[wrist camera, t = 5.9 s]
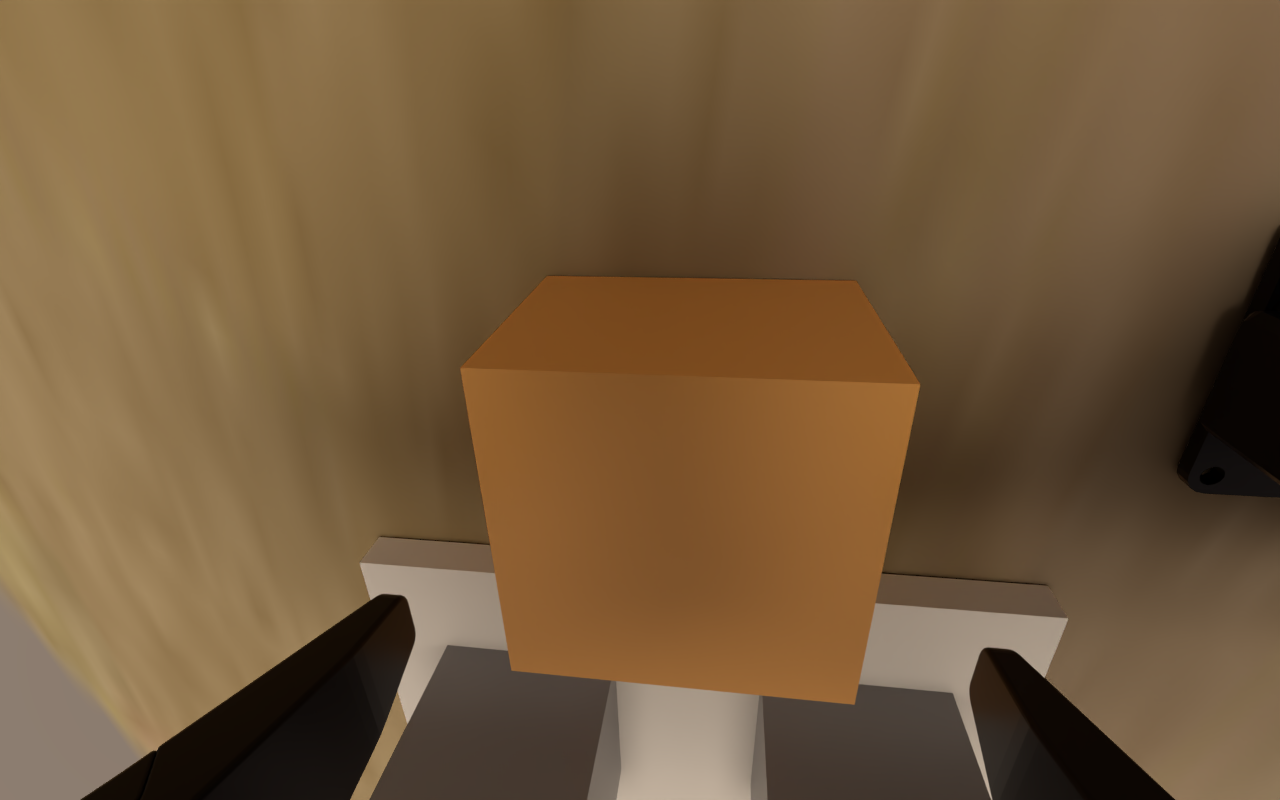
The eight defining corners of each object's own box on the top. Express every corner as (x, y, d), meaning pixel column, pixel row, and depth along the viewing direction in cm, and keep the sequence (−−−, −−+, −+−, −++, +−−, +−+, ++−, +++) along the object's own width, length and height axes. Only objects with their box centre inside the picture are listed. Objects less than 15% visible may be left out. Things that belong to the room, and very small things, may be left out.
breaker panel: (1048, 585, 17) (1193, 818, 12) (957, 830, 23) (1028, 1066, 17) (379, 536, 20) (245, 709, 14) (442, 767, 25) (362, 956, 20)
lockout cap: (855, 280, 14) (920, 384, 9) (820, 532, 18) (854, 704, 13) (547, 275, 15) (460, 368, 10) (569, 515, 18) (511, 670, 14)
